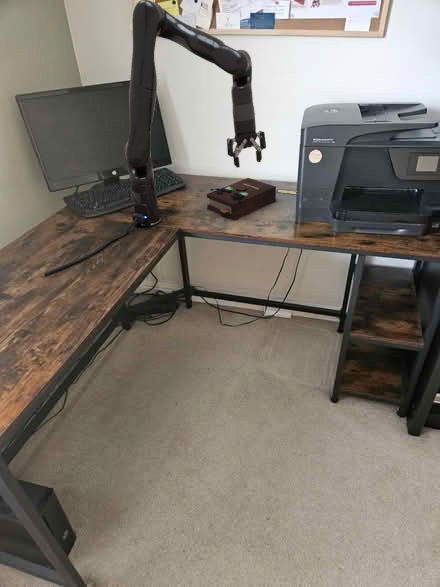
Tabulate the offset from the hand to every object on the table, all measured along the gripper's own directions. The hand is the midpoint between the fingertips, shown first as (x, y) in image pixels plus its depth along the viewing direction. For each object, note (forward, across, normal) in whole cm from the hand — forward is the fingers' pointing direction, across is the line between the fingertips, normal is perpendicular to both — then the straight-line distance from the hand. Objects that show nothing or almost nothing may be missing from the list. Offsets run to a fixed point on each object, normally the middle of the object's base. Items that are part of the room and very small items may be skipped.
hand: (248, 164), depth 147 cm
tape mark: (+24, -28, -22) cm, 43 cm away
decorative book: (+23, -4, -19) cm, 30 cm away
